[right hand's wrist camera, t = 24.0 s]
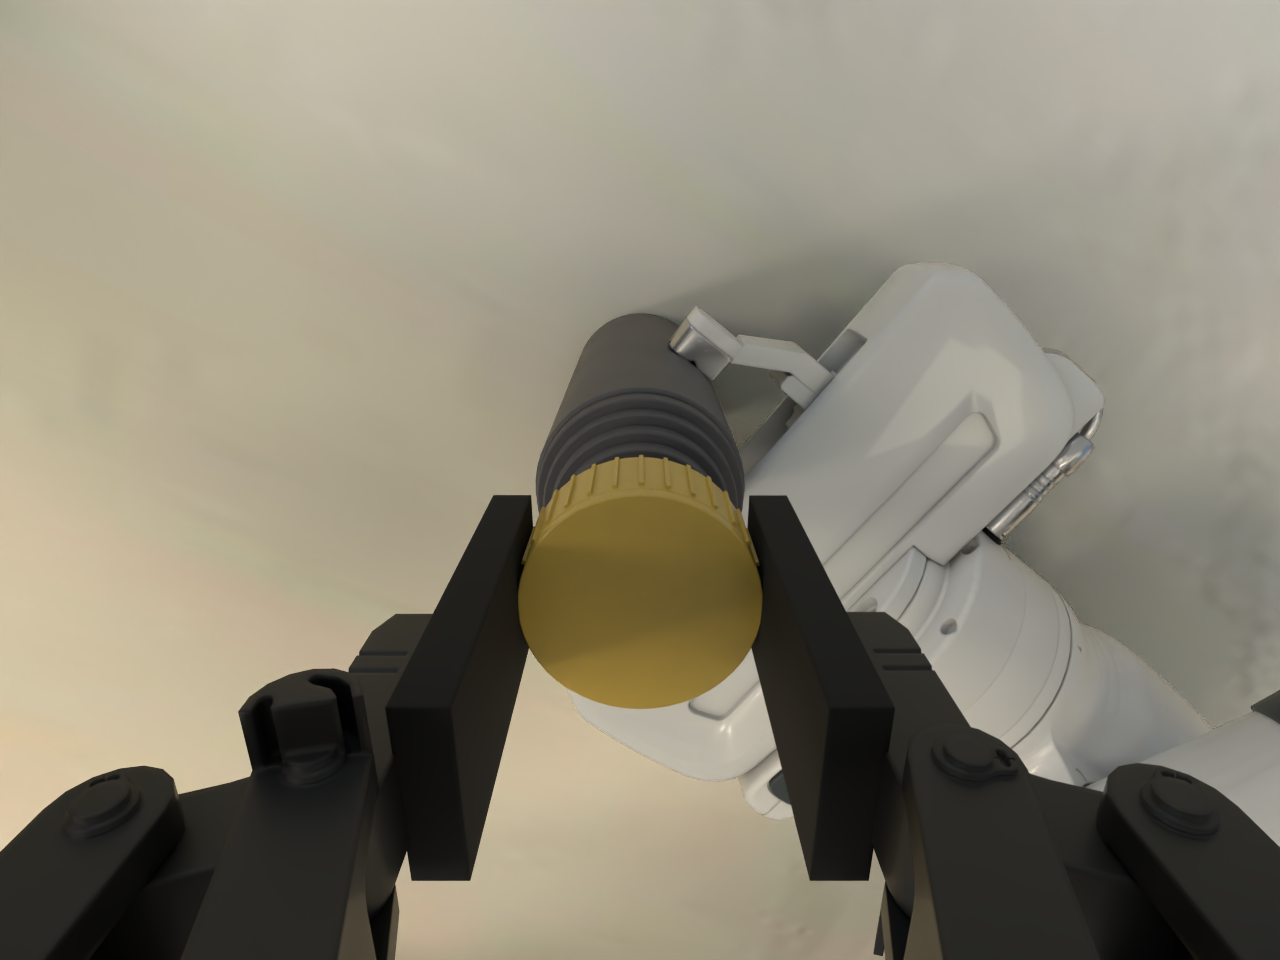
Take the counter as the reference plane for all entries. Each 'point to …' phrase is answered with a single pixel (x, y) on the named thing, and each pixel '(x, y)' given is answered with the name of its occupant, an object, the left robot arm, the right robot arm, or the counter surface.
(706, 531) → the cap
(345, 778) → the right robot arm
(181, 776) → the counter surface
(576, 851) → the counter surface
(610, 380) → the bottle
